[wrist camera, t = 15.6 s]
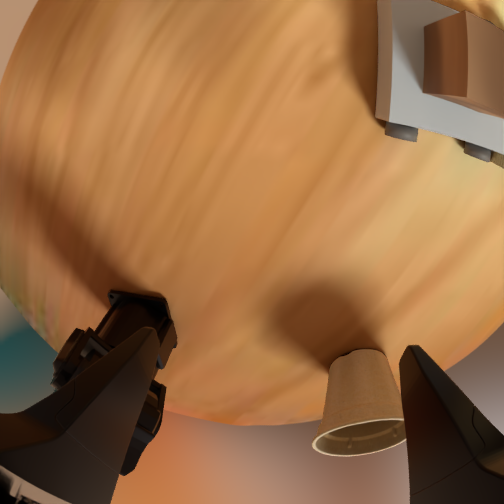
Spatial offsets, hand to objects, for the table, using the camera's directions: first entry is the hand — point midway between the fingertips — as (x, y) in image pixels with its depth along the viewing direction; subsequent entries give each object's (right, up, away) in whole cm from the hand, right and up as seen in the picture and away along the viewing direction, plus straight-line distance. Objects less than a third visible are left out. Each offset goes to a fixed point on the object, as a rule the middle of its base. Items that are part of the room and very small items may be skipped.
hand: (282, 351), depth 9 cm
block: (+10, +13, 0) cm, 16 cm away
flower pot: (+10, -8, +17) cm, 22 cm away
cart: (+11, +15, +3) cm, 18 cm away
